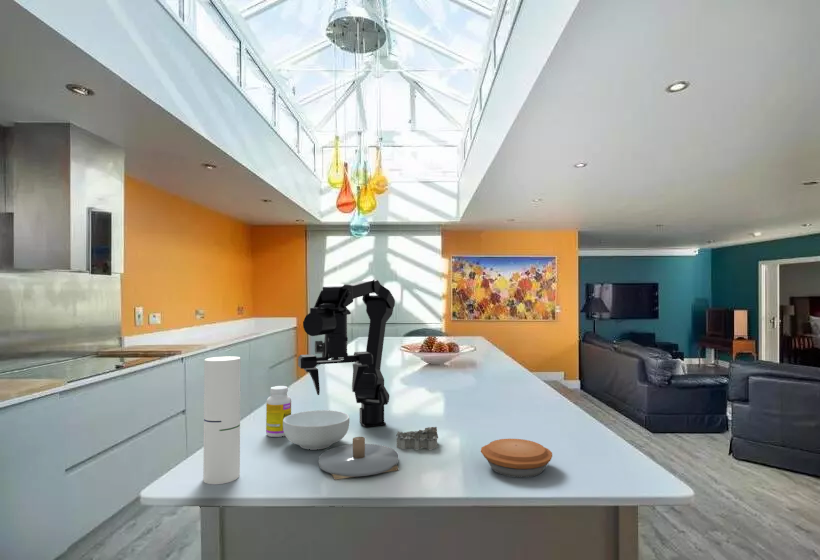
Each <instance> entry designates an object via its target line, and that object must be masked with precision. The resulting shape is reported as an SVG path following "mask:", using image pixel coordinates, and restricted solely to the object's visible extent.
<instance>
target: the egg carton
mask: <svg viewBox="0 0 820 560" xmlns="http://www.w3.org/2000/svg"><path fill="white" fill-rule="evenodd" d="M438 439H439V435H438V427H437V426H431V427H430V426H427V427H425V428H424V429H419V430H416V431H413V430H411V431H406V432H403V431H397V432H396V448H398V449H401V450H406V449H414V450H420V449H427V450H428V451H429V450H433V449H437V448H438Z"/></svg>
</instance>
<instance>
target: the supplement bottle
mask: <svg viewBox="0 0 820 560" xmlns="http://www.w3.org/2000/svg"><path fill="white" fill-rule="evenodd" d="M269 389H270V390H269V393H270V396H268V398H267V399H266V411H265V412H266V414H265V415H266V417H265V418H266V419H265V421H266V424H265V429H266V430H265V432H266V433H265V434H266V435H267V437H270V438H271V437H272V438H282V436H283V437H286V436H285V434H284V431H283V419H284V418H285V417H286V416H289V415H291V414H292V398H291V396H289V395H288V392H289V390H288V389H289V387H288V386H286V385H276V386H271V387H270V388H269Z"/></svg>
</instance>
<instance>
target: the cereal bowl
mask: <svg viewBox="0 0 820 560" xmlns="http://www.w3.org/2000/svg"><path fill="white" fill-rule="evenodd" d="M349 426H350V416H349V414H348V413H346V412H342V411H337V410H328V409H327V410H323V409H322V410H321V409H320V410H307V411H301V412H296V413H291V415H289V416H286V417H285V418H284V419H283V431H284V434H285V436H284V437H285V438H286V439H287V440H288V441H290V442H291V443H292V444H294V445H297V446H300V448H301V449H304V450H309V449H310V451H311V450H314V451H317V449H318V450H322V449H327V448H329V447H331V446H332V445H333V444H336V443H338V442H339V441H341V440H342V439H343V438H344V437H345V436H346V435H347V433H348V431H349Z"/></svg>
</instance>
